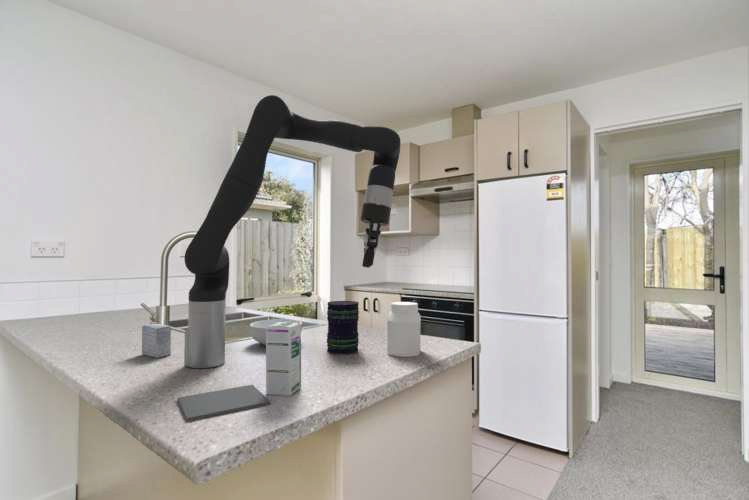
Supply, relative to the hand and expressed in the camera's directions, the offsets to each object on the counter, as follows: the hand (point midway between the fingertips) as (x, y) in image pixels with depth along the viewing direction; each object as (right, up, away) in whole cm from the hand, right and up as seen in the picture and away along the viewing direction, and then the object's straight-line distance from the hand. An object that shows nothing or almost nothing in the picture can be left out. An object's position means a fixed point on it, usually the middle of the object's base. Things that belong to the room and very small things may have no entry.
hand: (367, 266), depth 101 cm
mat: (-28, -26, -23) cm, 45 cm away
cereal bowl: (-31, -27, +29) cm, 50 cm away
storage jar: (-8, -27, +21) cm, 35 cm away
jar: (+11, -27, +19) cm, 35 cm away
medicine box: (-62, -27, +14) cm, 69 cm away
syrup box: (-18, -27, -16) cm, 36 cm away
